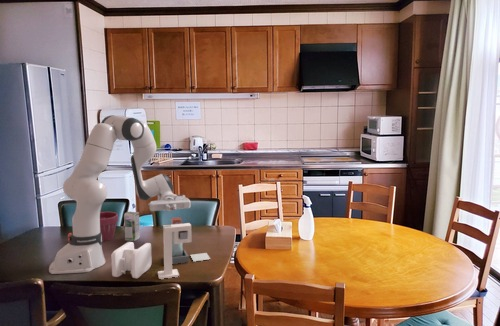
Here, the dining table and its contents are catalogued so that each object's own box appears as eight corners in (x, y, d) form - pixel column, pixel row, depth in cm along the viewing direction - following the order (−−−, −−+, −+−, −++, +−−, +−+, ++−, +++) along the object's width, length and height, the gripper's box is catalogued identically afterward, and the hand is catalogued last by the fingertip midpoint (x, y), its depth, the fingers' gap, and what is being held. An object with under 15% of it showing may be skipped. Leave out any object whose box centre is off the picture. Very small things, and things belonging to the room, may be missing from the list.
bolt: (179, 241, 151) (178, 231, 150) (171, 226, 170) (171, 218, 170) (188, 240, 152) (188, 231, 152) (180, 225, 172) (180, 217, 171)
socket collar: (168, 265, 166) (168, 258, 165) (165, 257, 174) (165, 251, 174) (188, 262, 169) (188, 256, 168) (185, 255, 177) (185, 249, 177)
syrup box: (124, 240, 197) (123, 213, 195) (130, 236, 202) (129, 210, 200) (134, 241, 195) (133, 214, 193) (140, 237, 201) (139, 211, 199)
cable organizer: (134, 282, 149) (133, 254, 147) (110, 279, 151) (109, 252, 149) (152, 267, 163) (151, 241, 162) (130, 265, 165) (129, 239, 164)
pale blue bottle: (172, 262, 168) (171, 233, 166) (170, 258, 173) (170, 230, 171) (183, 261, 170) (183, 232, 168) (181, 257, 174) (181, 229, 173)
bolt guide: (159, 279, 151) (158, 229, 148) (157, 273, 157) (156, 225, 154) (192, 275, 156) (191, 226, 153) (189, 269, 161) (189, 222, 158)
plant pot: (109, 243, 191) (108, 219, 190) (84, 242, 194) (83, 218, 192) (123, 234, 205) (122, 212, 204) (99, 233, 208) (98, 211, 206)
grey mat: (193, 262, 169) (193, 261, 169) (190, 256, 176) (190, 254, 176) (210, 260, 171) (210, 258, 171) (206, 254, 179) (206, 252, 179)
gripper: (147, 197, 190) (149, 203, 177) (187, 194, 196) (192, 200, 184) (147, 209, 190) (150, 216, 178) (187, 206, 197) (192, 213, 184)
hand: (172, 208), depth 181 cm, fingers closed
